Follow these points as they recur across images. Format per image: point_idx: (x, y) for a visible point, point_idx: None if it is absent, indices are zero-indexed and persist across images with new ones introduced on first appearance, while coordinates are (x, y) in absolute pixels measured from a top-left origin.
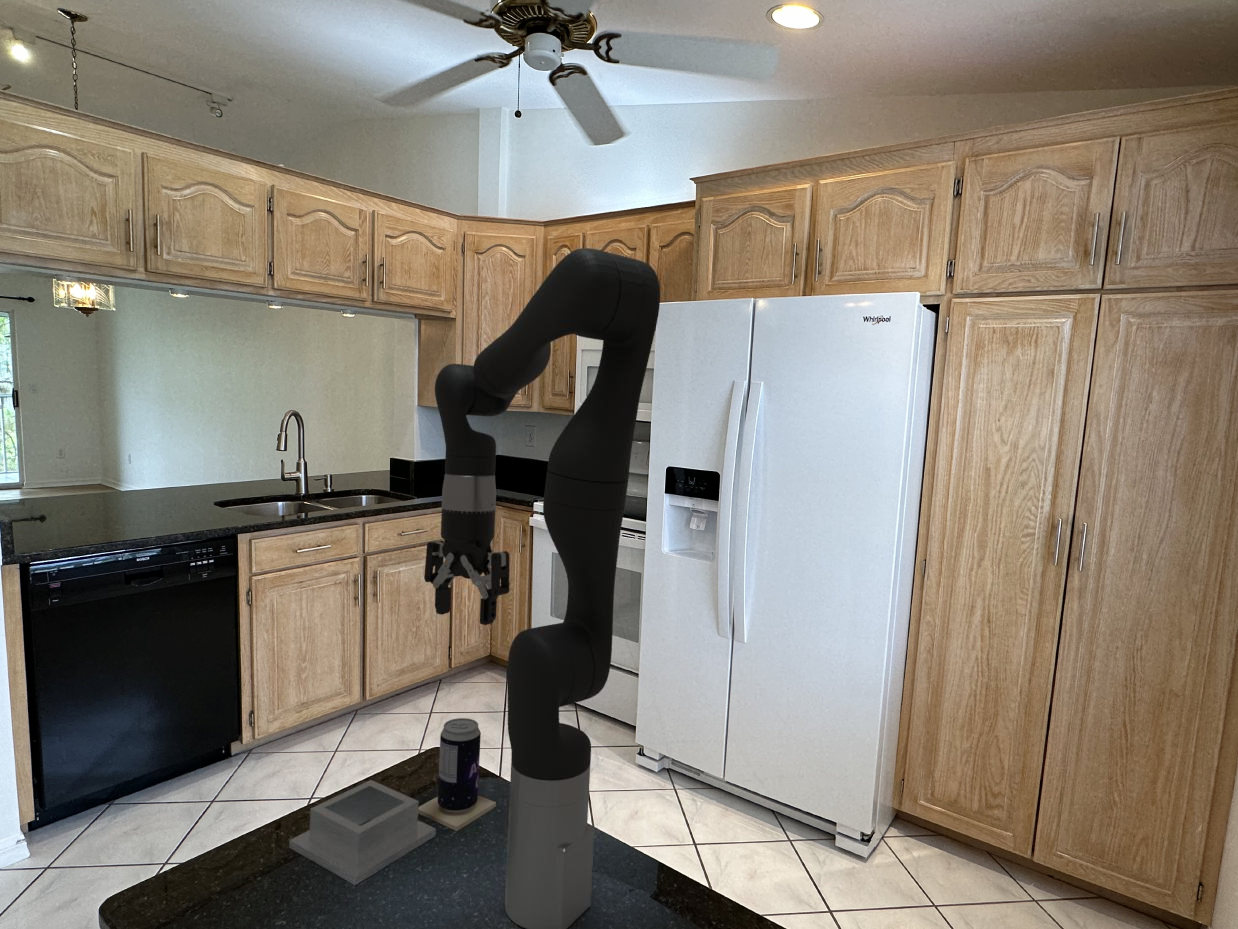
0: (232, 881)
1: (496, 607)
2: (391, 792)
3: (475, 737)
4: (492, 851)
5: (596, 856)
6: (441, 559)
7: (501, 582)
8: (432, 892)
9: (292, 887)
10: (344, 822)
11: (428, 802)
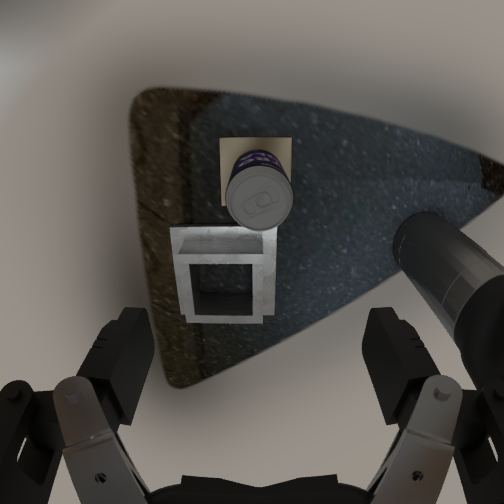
0: (193, 350)
1: (428, 352)
2: (221, 259)
3: (293, 197)
4: (344, 209)
5: (431, 159)
6: (4, 485)
7: (493, 433)
8: (335, 282)
9: (234, 334)
10: (234, 320)
11: (223, 188)
